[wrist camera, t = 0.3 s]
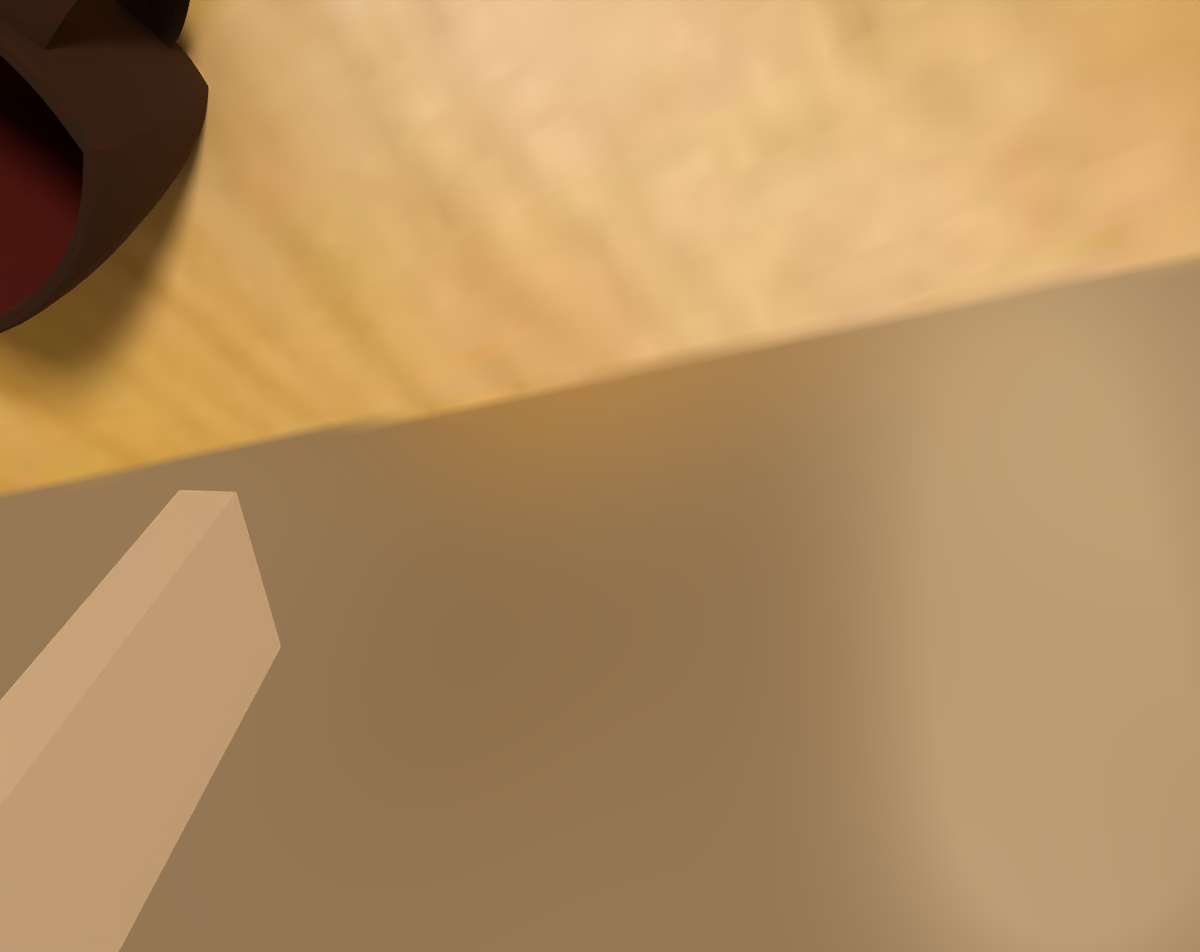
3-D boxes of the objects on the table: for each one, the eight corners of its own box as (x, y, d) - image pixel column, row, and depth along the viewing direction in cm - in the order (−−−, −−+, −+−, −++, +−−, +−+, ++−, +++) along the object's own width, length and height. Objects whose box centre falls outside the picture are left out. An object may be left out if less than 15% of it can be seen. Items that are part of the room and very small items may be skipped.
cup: (-34, 92, 36) (-311, 161, 26) (113, -226, 29) (-175, -298, 19) (180, 257, 39) (9, 376, 29) (352, 2, 33) (212, 40, 23)
